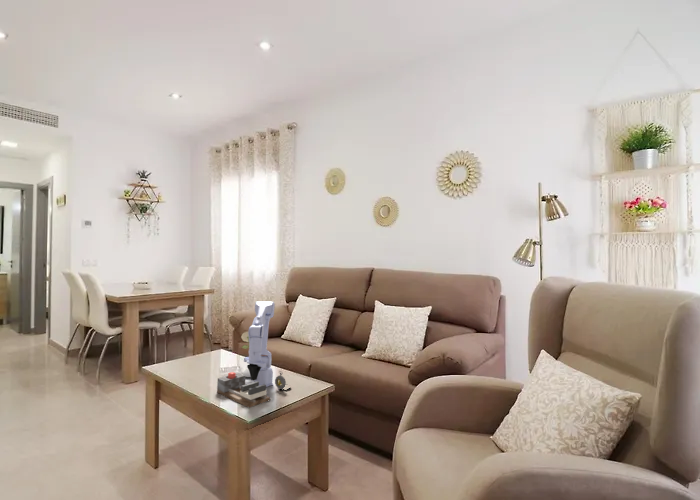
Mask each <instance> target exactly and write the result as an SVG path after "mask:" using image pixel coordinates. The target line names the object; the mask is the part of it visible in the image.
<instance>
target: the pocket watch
mask: <svg viewBox="0 0 700 500" xmlns="http://www.w3.org/2000/svg"><path fill="white" fill-rule="evenodd" d="M278 373H279V375H277V376H276V377H275V379H274V384H275V386H276V388H277V389H278V390H280V389H283V388H284V387H285V385H287V382H286V378H285V377H284V376H283V372H282V371H281V370H279V371H278ZM288 389H289V388H288ZM289 390H290V389H289Z"/></svg>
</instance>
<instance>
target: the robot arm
mask: <svg viewBox="0 0 700 500" xmlns="http://www.w3.org/2000/svg"><path fill="white" fill-rule="evenodd" d="M275 305H276V304H275V301H267V300H266V301H260V300H257V301H255V302H254V313H255V315H256V316H255V317H254V318H253V321H252V323H251V325H250V326H249V327H248V331H247V332H248V335H249V347H248V351H249V352H248V356H245V357H243V362H244V363H246V364H247V365H246V367H248V369H249V372H250V376H251V377H250V380H251V381H252V382H256V381H258V382H259V386H260V385H263V384H265V385H266V388H268V387H270V386H274V383H273V376H274V375H273V373H274V372H273V371H274V370H273V368H272V352H270V351H269V349H268V339H269V328H270V327H269V326H270V321H271V318H273V317H274V315H275V307H276V306H275Z"/></svg>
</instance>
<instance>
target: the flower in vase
mask: <svg viewBox="0 0 700 500" xmlns="http://www.w3.org/2000/svg"><path fill="white" fill-rule="evenodd" d="M240 338H241V340H242V341H243V342H246V343H247V345H246V344H244V345H242V346H241V349H245V350H246V349H249V335H248V331H245V332H243V333H242V334H241V336H240ZM248 353H249V350H248ZM241 374H243V375H245V378H251V376H250V372H249V369H248V367H247V366H246V367H245V368H244V369H243V370H242V371H241Z"/></svg>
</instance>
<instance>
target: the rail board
mask: <svg viewBox="0 0 700 500" xmlns="http://www.w3.org/2000/svg"><path fill="white" fill-rule="evenodd" d="M216 383H217V386H216V393H218V394H220V395H221V396H223V397H225V398H227V399H230V400H232V401H235V402H236V403H238V404H241V405H242V406H244V407H247V408H248V407H249V408H252V407H255V406H258V405H260V403H261V404H264V403H267V402H269V401H268V400H270V401H271V396H268V395H267V394H266V395H264V396H261V397H258V398H255V399H252V400H250V399H247V398H245V397H243V396H241V395H240V391H241V386H242V385H246V376H245V375H242V373H240V372H237V373H236V377H235V378H233V379H229V378H228V375H224V376H222V377H217V382H216ZM266 401H267V402H266ZM263 402H264V403H263Z"/></svg>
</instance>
